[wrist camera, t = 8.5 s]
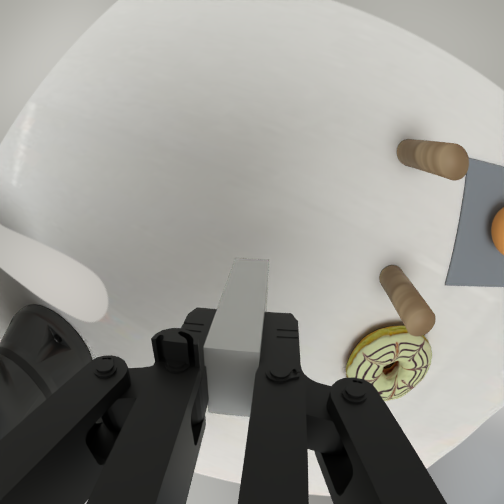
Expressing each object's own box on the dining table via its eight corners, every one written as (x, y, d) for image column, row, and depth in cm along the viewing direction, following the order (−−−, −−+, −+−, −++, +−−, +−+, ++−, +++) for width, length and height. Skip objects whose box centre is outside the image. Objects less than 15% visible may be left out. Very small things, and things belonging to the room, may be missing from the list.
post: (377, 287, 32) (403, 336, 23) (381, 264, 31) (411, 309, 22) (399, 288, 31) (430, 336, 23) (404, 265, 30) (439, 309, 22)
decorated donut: (343, 392, 37) (346, 413, 34) (342, 326, 34) (347, 347, 30) (418, 379, 36) (426, 398, 32) (428, 312, 32) (440, 330, 29)
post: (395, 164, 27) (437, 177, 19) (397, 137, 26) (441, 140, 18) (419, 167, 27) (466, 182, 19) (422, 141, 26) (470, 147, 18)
